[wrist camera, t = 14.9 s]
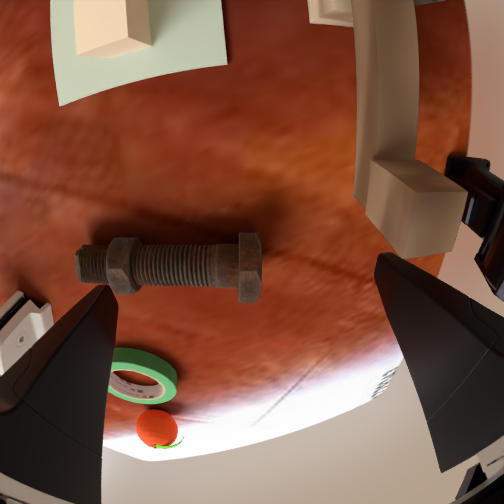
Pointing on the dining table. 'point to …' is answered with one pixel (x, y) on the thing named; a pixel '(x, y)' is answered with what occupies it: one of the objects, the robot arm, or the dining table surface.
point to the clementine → (157, 429)
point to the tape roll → (147, 366)
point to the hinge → (21, 328)
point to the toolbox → (339, 11)
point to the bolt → (174, 265)
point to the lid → (131, 41)
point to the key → (397, 136)
